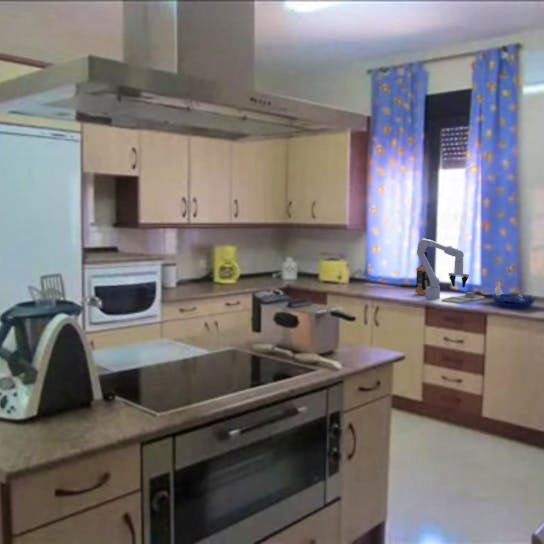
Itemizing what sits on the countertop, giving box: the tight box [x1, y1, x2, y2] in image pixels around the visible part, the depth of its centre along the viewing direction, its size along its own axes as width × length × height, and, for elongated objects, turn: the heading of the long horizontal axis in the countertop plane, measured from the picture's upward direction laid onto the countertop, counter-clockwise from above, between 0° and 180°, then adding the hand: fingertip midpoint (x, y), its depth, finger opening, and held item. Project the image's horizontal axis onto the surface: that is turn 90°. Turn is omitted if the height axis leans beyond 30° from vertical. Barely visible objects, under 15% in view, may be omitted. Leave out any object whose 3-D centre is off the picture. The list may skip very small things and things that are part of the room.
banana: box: [494, 280, 523, 297], centre depth 409 cm, size 5×19×15 cm, turn 50°
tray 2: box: [457, 294, 485, 302], centre depth 421 cm, size 14×14×2 cm
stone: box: [465, 291, 476, 299], centre depth 420 cm, size 4×4×4 cm
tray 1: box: [441, 296, 471, 304], centre depth 413 cm, size 14×14×2 cm
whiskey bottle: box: [414, 251, 434, 296], centre depth 450 cm, size 10×10×32 cm
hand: (458, 286), depth 422 cm, fingers open, 7 cm apart
